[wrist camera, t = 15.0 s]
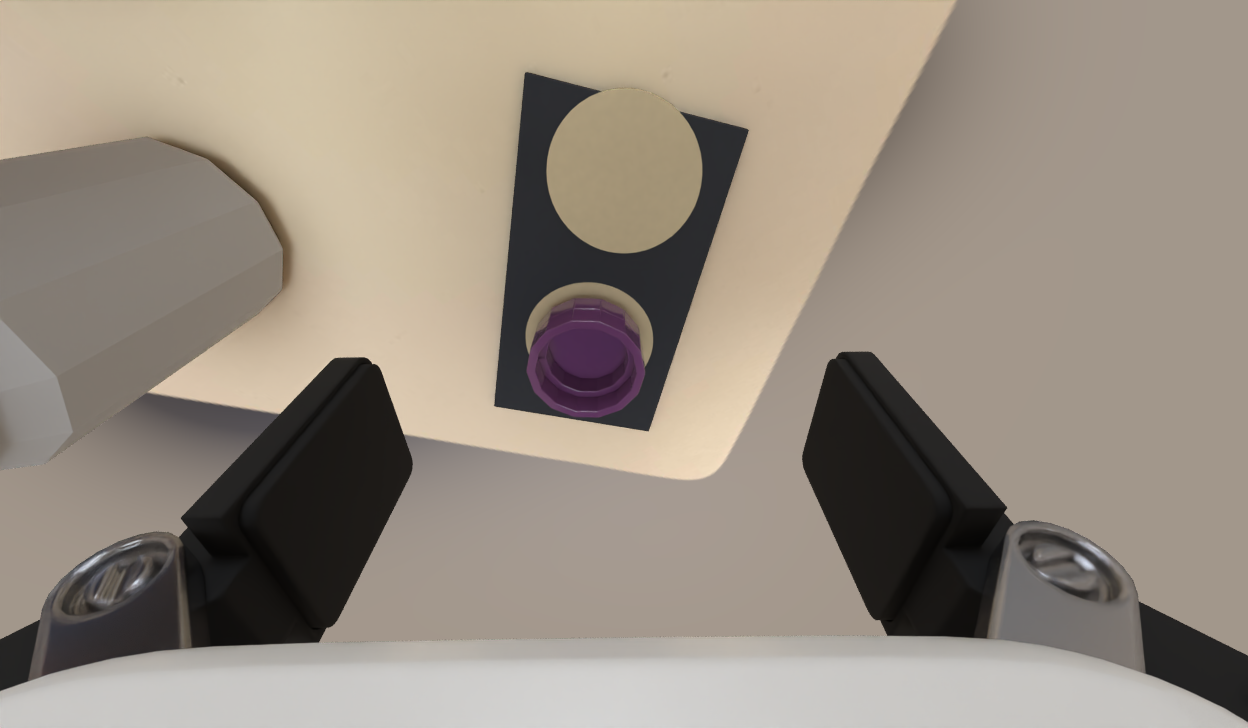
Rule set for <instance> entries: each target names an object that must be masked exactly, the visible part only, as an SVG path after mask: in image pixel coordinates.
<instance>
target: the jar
mask: <svg viewBox="0 0 1248 728" xmlns="http://www.w3.org/2000/svg"><path fill="white" fill-rule="evenodd" d="M282 271H283V248H282V246H281V244H280V242H279V240H278V238H277V236H276V234H275V232H274V230H273V229H272V227H271V225H270V223H269V221H268V219H267V218H266V216H265V214H264V212H263V210H262V208H261V207H260V205H259V203H258V202H257V201H256V200H255V199H254V198H253V197H251V196H250V195H249V194H248V193H247V192H246V191H244V190H243V189H242V188H241V187H240V186H239V185H237V184H236V183H235V182H234V181H233V180H231V179H230V178H229V177H228V176H227V175H226V174H224V173H223V172H222V171H221V170H220V169H219V168H217V167H216V166H215V165H214V164H213V163H211V162H210V161H209V160H208V159H206V158H203V157H201V156H198V155H195V154H193V153H190V152H187V151H184V150H182V149H179V148H176V147H174V146H171V145H168V144H165V143H163V142H160V141H157V140H155V139H152V138H149V137H142V138H135V139H129V140H122V141H116V142H109V143H103V144H96V145H90V146H84V147H78V148H71V149H65V150H59V151H53V152H46V153H40V154H34V155H28V156H21V157H15V158H9V159H3V160H0V470H4V469H12V468H20V467H27V466H35V465H42V464H46V463H47V462H48V461H50V460H51V459H53V458H54V457H56V456H57V455H58V454H60V453H61V452H62V451H64V450H66V449H67V448H68V447H70V446H71V445H73V444H74V443H75V442H77V441H78V440H80V439H81V438H82V437H84V436H85V435H87V434H88V433H90V432H91V431H92V430H94V429H95V428H97V427H98V426H100V425H101V424H102V423H104V422H105V421H107V420H108V419H110V418H111V417H112V416H114V415H115V414H116V413H118V412H119V411H121V410H122V409H123V408H125V407H127V406H128V405H129V404H131V403H132V402H134V401H135V400H136V399H138V398H139V397H141V396H142V395H144V394H145V393H146V392H148V391H149V390H151V389H152V388H154V387H155V386H156V385H158V384H159V383H161V382H162V381H163V380H165V379H166V378H168V377H169V376H171V375H172V374H173V373H175V372H176V371H178V370H179V369H180V368H182V367H183V366H185V365H186V364H188V363H189V362H190V361H192V360H193V359H195V358H196V357H198V356H199V355H200V354H202V353H203V352H205V351H206V350H207V349H209V348H210V347H212V346H213V345H215V344H216V343H217V342H219V341H220V340H222V339H223V338H224V337H226V336H227V335H229V334H230V333H232V332H233V331H234V330H236V329H237V328H239V327H240V326H242V325H243V324H244V323H246V322H247V321H249V320H250V319H251V318H253V317H254V316H256V315H257V314H258V313H259V312H260V311H261V310H262V309H263V308H264V307H265V306H266V305H267V304H268V303H269V302H270V301H271V300H272V299H273V298H274V297H275V296H276V295H277V294H278V293H279V292H280V291H281V290H282Z"/></svg>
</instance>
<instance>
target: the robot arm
mask: <svg viewBox="0 0 1248 728" xmlns="http://www.w3.org/2000/svg"><path fill="white" fill-rule="evenodd" d="M802 460H803V468H804V470H805V473H806V475H807V477H808V479H809V482H810V484H811V486H812V488H813V490H814V493H815V495H816V497H817V499H818V502H819V504H820V506H821V508H822V510H823V513H824V515H825V517H826V519H827V521H828V524H829V526H830V528H831V530H832V532H833V535H834V537H835V539H836V541H837V543H838V546H839V548H840V550H841V552H842V555H843V557H844V559H845V561H846V563H847V565H848V568H849V570H850V572H851V574H852V576H853V579H854V581H855V583H856V586H857V588H858V590H859V592H860V594H861V596H862V599H863V601H864V603H865V605H866V608H867V610H868V612H869V613H870V615H871V616H872V617H873V618H874V619H875V620H880V621H881V623H882V625H883V627H884V629H885V631H886V634H887V636H735V637H734V636H731V637H729V636H725V637H639V638H638V637H635V638H633V637H632V638H558V639H557V638H556V639H491V640H489V639H488V640H432V641H379V642H326V643H319V641H320V639H321V637H322V635H323V633H324V632H325V629H326V628H327V627H331V626H333V625H334V624H335V622H336V621H337V620H338V618H339V616H340V614H341V612H342V610H343V608H344V606H345V604H346V602H347V600H348V598H349V596H350V594H351V592H352V590H353V588H354V586H355V584H356V582H357V581H358V579H359V577H360V574H361V573H362V570H363V568H364V566H365V564H366V563H367V561H368V559H369V557H370V555H371V553H372V551H373V548H374V547H375V545H376V543H377V541H378V539H379V537H380V535H381V533H382V531H383V529H384V527H385V525H386V523H387V521H388V519H389V517H390V515H391V513H392V511H393V509H394V507H395V505H396V503H397V501H398V499H399V497H400V495H401V493H402V491H403V489H404V487H405V485H406V483H407V481H408V479H409V477H410V475H411V472H412V465H413V463H412V457H411V454H410V451H409V448H408V446H407V443H406V440H405V437H404V434H403V431H402V429H401V426H400V423H399V420H398V417H397V415H396V412H395V409H394V406H393V403H392V401H391V398H390V395H389V392H388V389H387V386H386V384H385V381H384V378H383V375H382V372H381V370H380V368H379V367H378V366H377V365H375V364H372V363H371V361H370V360H369V359H367V358H365V357H358V358H335V359H333V360H332V361H331V362H330V363H329V364H328V365H327V366H326V367H325V368H324V369H323V370H322V371H321V372H320V373H319V374H318V375H317V376H316V377H315V378H314V379H313V380H312V381H311V382H310V383H309V385H308V386H307V387H306V388H305V389H304V390H303V391H302V392H301V393H300V394H299V395H298V396H297V397H296V398H295V399H294V400H293V401H292V402H291V403H290V404H289V405H288V406H287V407H286V409H285V410H284V411H283V412H282V413H281V414H280V415H279V416H278V417H277V418H276V419H275V420H274V421H273V422H272V423H271V424H270V425H269V426H268V427H267V428H266V429H265V430H264V432H263V433H262V434H261V435H260V436H259V437H258V438H257V439H256V440H255V441H254V442H253V443H252V444H251V445H250V446H249V447H248V448H247V449H246V450H245V451H244V452H243V454H241V455H240V457H239V458H238V459H237V460H236V461H235V462H234V463H233V464H232V465H231V466H230V467H229V468H228V469H227V470H226V471H225V472H224V473H223V474H222V475H221V476H220V477H219V478H218V479H217V481H216V482H215V483H214V484H213V485H212V486H211V487H210V488H209V489H208V490H207V491H206V492H205V493H204V494H203V495H202V496H201V497H200V498H199V499H198V500H197V502H195V504H194V505H193V506H192V507H191V508H190V509H189V510H188V511H187V512H186V513H185V514H184V515H183V516H182V517H181V519H182V520H183V522H184V523H185V524H186V526H187V527H188V528H187V529H186V530H185V531H184V532H183V533H182V535H181V536H180V537H177V536H175V535H173V534H172V533H169V532H151V533H145V534H140V535H137V536H133V537H130V538H127V539H124V540H122V541H119V542H117V543H115V544H113V545H111V546H109V547H107V548H105V549H103V550H101V551H99V552H97V553H95V554H94V555H92V556H91V557H90V558H88V559H86V560H85V561H83V562H82V563H80V564H79V565H77V566H76V567H75V568H74V569H73V570H72V571H70V572H69V573H68V574H67V575H66V576H64V577H63V578H62V579H61V580H60V581H59V583H58V584H57V585H56V586H55V587H54V589H53V590H52V591H51V592H50V593H49V595H48V597H47V599H46V601H45V604H44V606H43V608H42V613H41V618H40V620H38V621H36V622H34V623H33V624H30V625H28V626H26V627H24V628H22V629H20V630H18V631H16V632H14V633H12V634H10V635H9V636H6V637H4V638H2V639H0V728H1248V656H1247V655H1245V654H1243V653H1241V652H1239V651H1237V650H1235V649H1233V648H1231V647H1229V646H1227V645H1225V644H1223V643H1221V642H1219V641H1217V640H1215V639H1213V638H1211V637H1209V636H1207V635H1205V634H1203V633H1201V632H1199V631H1197V630H1195V629H1193V628H1191V627H1189V626H1187V625H1185V624H1183V623H1181V622H1179V621H1177V620H1175V619H1173V618H1171V617H1169V616H1167V615H1165V614H1163V613H1161V612H1159V611H1157V610H1155V609H1153V608H1151V607H1149V606H1147V605H1145V604H1143V603H1141V602H1139V601H1138V593H1137V590H1136V587H1135V584H1134V582H1133V580H1132V578H1131V577H1130V575H1129V574H1128V573H1127V572H1126V570H1125V569H1124V567H1123V566H1122V565H1121V564H1120V563H1119V562H1118V561H1117V560H1116V559H1114V558H1113V557H1112V556H1111V555H1110V554H1109V553H1108V552H1106V551H1105V550H1104V549H1102V548H1101V547H1099V546H1098V545H1096V544H1095V543H1094V542H1092V541H1091V540H1089V539H1087V538H1085V537H1083V536H1081V535H1079V534H1077V533H1075V532H1073V531H1071V530H1069V529H1066V528H1064V527H1060V526H1058V525H1055V524H1052V523H1047V522H1039V521H1034V520H1033V521H1021V522H1018V523H1016V524H1013V523H1012V522H1011V521H1010V519H1009V518H1008V517H1007V516H1006V515H1005V514H1004V512H1005V510H1006V509H1007V507H1006V506H1005V504H1004V503H1003V502H1002V501H1001V500H1000V499H999V498H998V496H997V495H996V494H995V493H994V492H993V491H992V489H991V488H990V487H989V486H988V485H987V484H986V483H985V482H984V480H983V479H982V478H981V477H980V476H979V475H978V473H977V472H976V471H975V470H974V469H973V468H972V466H971V465H970V464H969V463H968V462H967V461H966V460H965V458H964V457H963V456H962V455H961V454H960V453H959V451H958V450H957V449H956V448H955V447H954V446H953V445H952V443H951V442H950V441H949V440H948V439H947V438H946V437H945V435H944V434H943V433H942V432H941V431H940V430H939V429H938V427H937V426H936V425H935V424H934V423H933V422H932V420H931V419H930V418H929V417H928V416H927V415H926V414H925V412H924V411H923V410H922V409H921V408H920V407H919V405H918V404H917V403H916V402H915V401H914V400H913V399H912V397H911V396H910V395H909V394H908V393H907V392H906V391H905V389H904V388H903V387H902V386H901V385H900V384H899V382H898V381H897V380H896V379H895V378H894V377H893V376H892V375H891V373H890V372H889V371H888V370H887V369H886V368H885V366H884V365H883V364H882V363H881V362H880V361H879V359H878V358H877V357H876V356H875V355H874V354H873V353H871V352H841V353H839V354H838V356H837V357H836V359H832V360H830V361H829V363H828V365H827V368H826V371H825V375H824V379H823V383H822V386H821V389H820V393H819V397H818V400H817V404H816V407H815V411H814V415H813V418H812V422H811V426H810V429H809V433H808V436H807V440H806V443H805V447H804V451H803V455H802Z"/></svg>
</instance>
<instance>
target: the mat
mask: <svg viewBox="0 0 1248 728" xmlns="http://www.w3.org/2000/svg"><path fill="white" fill-rule="evenodd" d="M748 131H749V130H748V129H745V128H741V127H737V126H733V125H729V124H726V123H722V122H718V121H714V120H710V119H706V118H702V117H698V116H695V115H691V114H687V113H683V112H679V111H678V110H677V109H676V108H675V107H674V106H673V105H671V104H670V103H669V102H667V101H666V100H664V99H663V98H661V97H659V96H657V95H655V94H653V93H650V92H647V91H644V90H639V89H634V88H616V89H609V90H606V91H602V92H601V91H598V90H594V89H590V88H586V87H582V86H578V85H574V84H570V83H567V82H563V81H559V80H555V79H551V78H547V77H543V76H539V75H536V74H532V73H528V72H526V73H525V78H524V89H523V100H522V111H521V122H520V133H519V143H518V154H517V165H516V176H515V187H514V198H513V208H512V219H511V230H510V241H509V252H508V263H507V274H506V284H505V295H504V306H503V317H502V328H501V339H500V349H499V360H498V371H497V382H496V393H495V404H494V406H495V407H502V408H508V409H514V410H520V411H526V412H532V413H539V414H545V415H551V416H557V417H563V418H569V419H576V420H582V421H588V422H594V423H600V424H606V425H613V426H619V427H625V428H631V429H637V430H643V431H649V429H650V426H651V423H652V420H653V417H654V414H655V411H656V408H657V405H658V402H659V399H660V396H661V393H662V390H663V387H664V384H665V381H666V378H667V375H668V372H669V369H670V366H671V363H672V360H673V356H674V353H675V350H676V347H677V344H678V341H679V338H680V335H681V332H682V329H683V326H684V323H685V320H686V317H687V314H688V311H689V308H690V305H691V302H692V299H693V296H694V293H695V290H696V287H697V284H698V281H699V278H700V275H701V272H702V269H703V266H704V263H705V260H706V257H707V254H708V251H709V248H710V245H711V242H712V239H713V236H714V233H715V230H716V227H717V224H718V221H719V218H720V215H721V212H722V209H723V206H724V203H725V200H726V197H727V194H728V191H729V188H730V185H731V182H732V179H733V176H734V173H735V170H736V167H737V164H738V161H739V158H740V155H741V152H742V149H743V146H744V143H745V140H746V137H747V134H748ZM573 298H575V299H576V298H596V299H603V300H605V301H607V302H610V303H612V304H614V305H616V306H618V307H620V308H622V309H624V310H625V311H626V312H627V313H628V315H629V316H630V317H631V318H632V319H633V321H634V322H635V323H636V324H637V325H638V327H639V330H640V335H641V340H642V345H643V353H644V363H645V376H644V379H643V382H642V385H641V388H640V391H639V393H638V395H637V396H636V397H635V398H634V399H632V400H631V401H630V402H629V403H628V404H627V405H626V406H625V407H624V408H623V409H621V410H619V411H616V412H614V413H611V414H608V415H605V416H602V417H598V418H596V417H573V416H570V415H567V414H565V413H562V412H560V411H557V410H554V409H552V408H551V407H549V406H548V405H547V404H546V403H545V402H544V401H543V400H542V399H541V398H540V397H539V396H538V395H537V394H536V393H535V392H534V390H533V388H532V385H531V382H530V380H529V377H528V374H527V371H526V370H527V364H528V359H529V353H530V348H531V345H532V342H533V338H534V335H535V332H536V328H537V326H538V324H539V322H540V321H541V320H542V319H543V318H544V317H545V315H546V314H547V313H548V312H549V311H550V309H551V308H553V307H554V306H557V305H559V304H562V303H564V302H566V301H569V300H571V299H573Z"/></svg>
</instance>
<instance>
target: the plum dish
mask: <svg viewBox="0 0 1248 728" xmlns="http://www.w3.org/2000/svg"><path fill="white" fill-rule="evenodd" d="M526 371H527V374H528V377H529V380H530V382H531V385H532V388H533V390H534V392H535V393H536V394H537V395H538V396H539V397H540V398H541V399H542V400H543V401H544V402H545V403H546V404H547V405H548V406H549V407H551V408H552V409H554V410H557V411H560V412H562V413H565V414H567V415H570V416H573V417H596V418H598V417H602V416H605V415H608V414H611V413H614V412H616V411H619V410H621V409H623V408H624V407H625V406H626V405H627V404H628V403H629V402H630V401H631V400H632V399H634V398H635V397H636V396H637V395H638V393H639V391H640V388H641V385H642V382H643V379H644V376H645V363H644V353H643V345H642V340H641V335H640V330H639V327H638V325H637V324H636V323H635V322H634V321H633V319H632V318H631V317H630V316H629V315H628V313H627V312H626V311H625V310H624V309H622V308H620V307H618V306H616V305H614V304H612V303H610V302H607V301H605V300H603V299H596V298H576V299H575V298H573V299H571V300H569V301H566V302H564V303H562V304H559V305H557V306H554V307H553V308H551V309H550V311H549V312H548V313H547V314H546V315H545V317H544V318H543V319H542V320H541V321H540V322H539V324H538V326H537V328H536V332H535V335H534V338H533V342H532V345H531V348H530V353H529V359H528V364H527V370H526Z"/></svg>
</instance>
